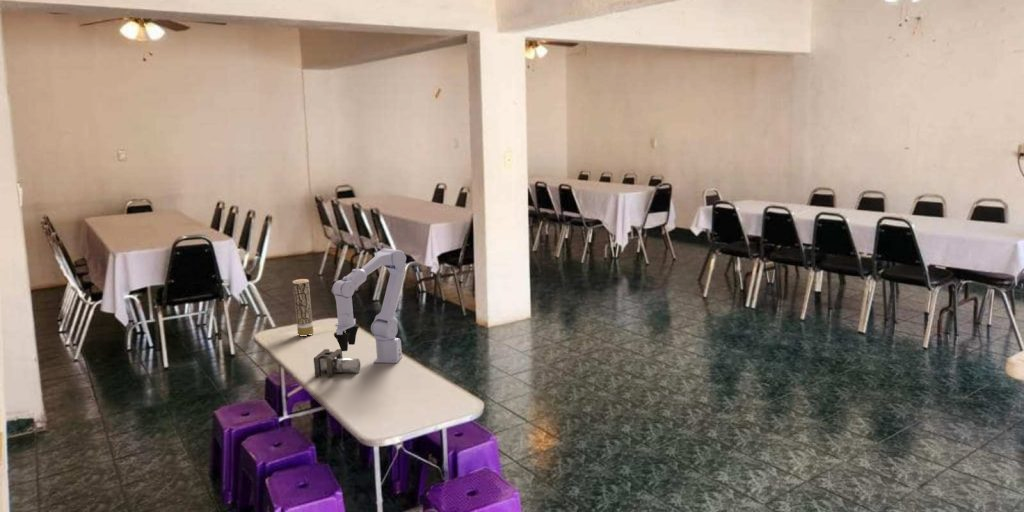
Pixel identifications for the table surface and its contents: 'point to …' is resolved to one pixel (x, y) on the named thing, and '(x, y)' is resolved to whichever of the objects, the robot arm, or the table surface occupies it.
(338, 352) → the brown bracket plates
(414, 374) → the table surface
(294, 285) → the log
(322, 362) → the grey metal cylinder
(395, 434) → the table surface
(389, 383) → the table surface
